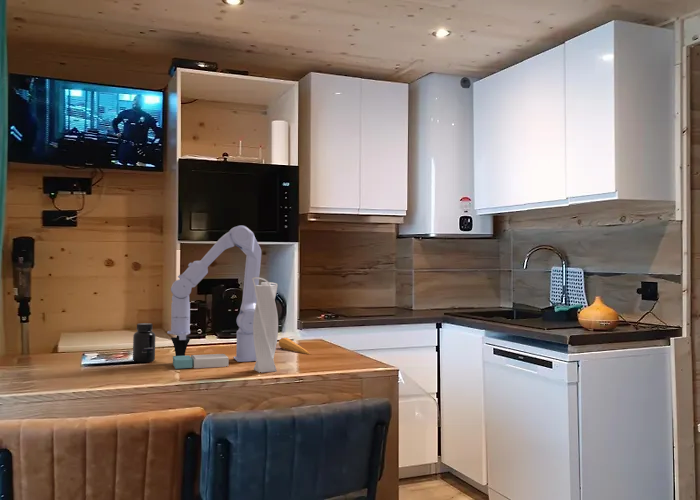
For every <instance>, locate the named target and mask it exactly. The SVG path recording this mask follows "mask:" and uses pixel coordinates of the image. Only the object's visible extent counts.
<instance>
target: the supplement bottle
mask: <svg viewBox="0 0 700 500" xmlns="http://www.w3.org/2000/svg"><path fill="white" fill-rule="evenodd" d="M153 329H154V328H153V323H150V322H149V323H147V322H144V323H137V324H136V330H137V331H136V332H134V334H133V336H132V337H133V339H132V361H133V360H134V361H137V362H136V363H150V362H151V363H152V362H154V361H155V359H156V357H155V356H156V333H155V332H154V331H153ZM134 361H133V362H134Z"/></svg>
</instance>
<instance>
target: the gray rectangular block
mask: <svg viewBox="0 0 700 500" xmlns="http://www.w3.org/2000/svg"><path fill="white" fill-rule="evenodd" d="M190 357H191V358H192V368H194V369H203V368H204V369H205V368H208V369H209V368H222V367H223V368H225V367H226V366H227V367H229V357H228V356H227V355H226V354H225V353H215V354H213V353H212V354H210V353H209V354H191V355H190Z"/></svg>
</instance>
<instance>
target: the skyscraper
mask: <svg viewBox="0 0 700 500" xmlns="http://www.w3.org/2000/svg"><path fill="white" fill-rule="evenodd" d="M254 279H259V280H262V282H260V284H259V285H255V282H254ZM252 280H253V284H254V288H255V294H256V299H257V302H256V306H255V311H254V320H253V336H254V346H255V353H256V359H257V360H256V361H255V365H254V367H253V371H256V372H257V373H260V372H261V373H270V372H271V373H272V372H277V371H278V370H277V368H276V364H275V360H274V359H275V358H274V357H275V353H276V349H277V342H278V335H279V334H278V333H279V316H278V309H277V303H276V296H277V291H278V287H279V286H278V285H279V284H278V283H276V282H272V281H271V282H270V281H269V280H268V279H265V278H263V277H260V276H259V277H254V278H252ZM263 281H264V282H263Z"/></svg>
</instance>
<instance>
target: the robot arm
mask: <svg viewBox="0 0 700 500" xmlns="http://www.w3.org/2000/svg"><path fill="white" fill-rule="evenodd" d="M235 246H236V247H237V248H239V249H240V250H241V252H243V253H244V254H245V255H246V256H245V257H246V258H245V266H244V267H245V269H244V276H243V277H244V279H243V287H242V301H241V305H240V310H239V313H238V315H237V317H236V324H237V326H238V330H236V349H235V350H236V353H235V354H236V356H233V359H234V360H235V361H237V362H238V363H239V362H242V363H243V362H256V360H257V359H256V353H255V346H254V336H253V320H254V311H255V306H256V302H257V299H256V294H255V288H254V284H253V280H252V278H254V277H260V273H261V264H262V263H261V261H262V249H261V246H260V245H259V242H258V240H257V239H256V237H255V233H254V232H253V231H252V230H251V229H250V228H249V227H247V226H246V225H237V226H234V227H232V228H231V229H230V230H229V231H228V232H226V233H225V234H223V235H222V236H221V237H220V238H218V240H217V241H216V242H215V243H214V244H213V246H212V247H211V248H210V249H209V250H208V251H207V252H206V253H205V255H204V256H203V257H202V258H201V260H194V261H193V262H189V263H188V265H187V266H188V267H187V268H186V269H185V271H184V272H182V274H178V276H177V278H179V279H176V280H175V281H173V282H172V285H171V287H170V291H171V294H172V296H171V305H170V306H171V312H170V313H171V314H170V315H171V317H170V319H171V320H170V324H171V325H170V328H171V329H170V330H168V331H167V333H166V334H168V335H174V336H175V337H171V338H170V340H171V342H172V343H173V348H174V352H175V355H174V356H186V352H187V347H188V344H189V343H190V340H191V338H190V336H189V335H190V334H191V329H190V327H191V326H190V325H191V302H190V294H191V293H192V288H195V287H196V286H197V285H198V284H199V283H200V282H201V281H202V280H203V279H204V278H205V277H206V275H207V274H208V273H209V268H208V267H210V265H211V264H212V263H213V262H214V261H215V260H216V259H217V258H218V257H219V256H220V255H221V254H222V253H223V252H224V251H225V250H227V249H231V248H233V247H235ZM254 282H255V285H260V279H254Z"/></svg>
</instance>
